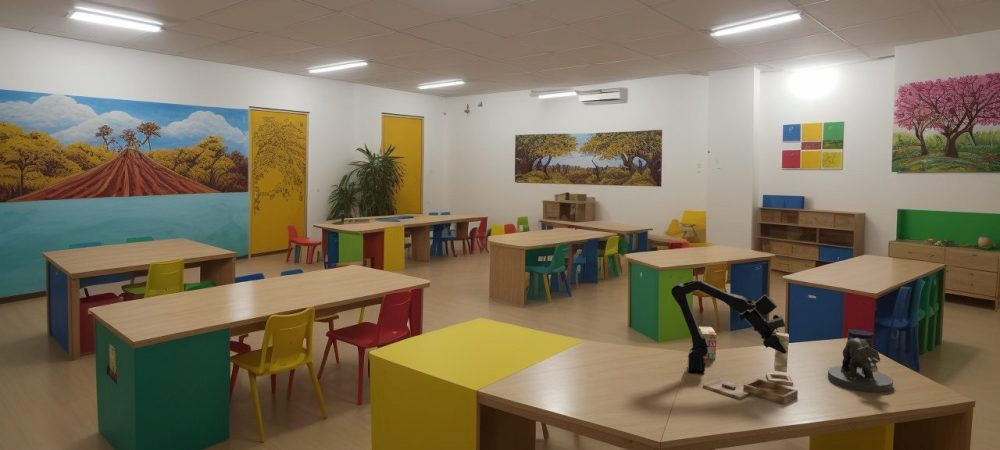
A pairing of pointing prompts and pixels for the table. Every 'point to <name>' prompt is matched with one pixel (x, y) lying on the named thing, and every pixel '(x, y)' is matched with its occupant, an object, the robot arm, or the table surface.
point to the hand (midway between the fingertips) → (785, 351)
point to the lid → (727, 388)
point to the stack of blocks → (711, 339)
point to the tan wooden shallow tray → (771, 391)
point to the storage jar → (861, 337)
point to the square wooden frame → (770, 375)
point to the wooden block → (782, 354)
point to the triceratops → (860, 369)
